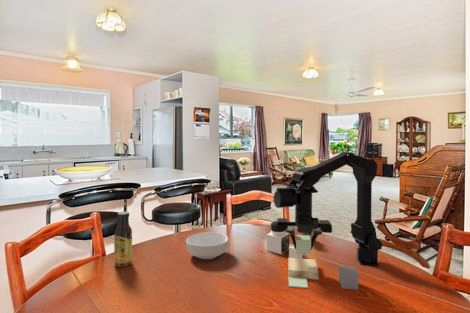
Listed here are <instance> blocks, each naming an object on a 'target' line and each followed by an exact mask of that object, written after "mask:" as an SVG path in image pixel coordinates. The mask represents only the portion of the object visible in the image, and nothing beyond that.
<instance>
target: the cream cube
mask: <svg viewBox="0 0 470 313" xmlns="http://www.w3.org/2000/svg"><path fill="white" fill-rule="evenodd" d="M303 255H304V254H296V249H295V248H294V244H293V242H292V243H290V242H289V250H288V258H300V259H304V258H303Z"/></svg>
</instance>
